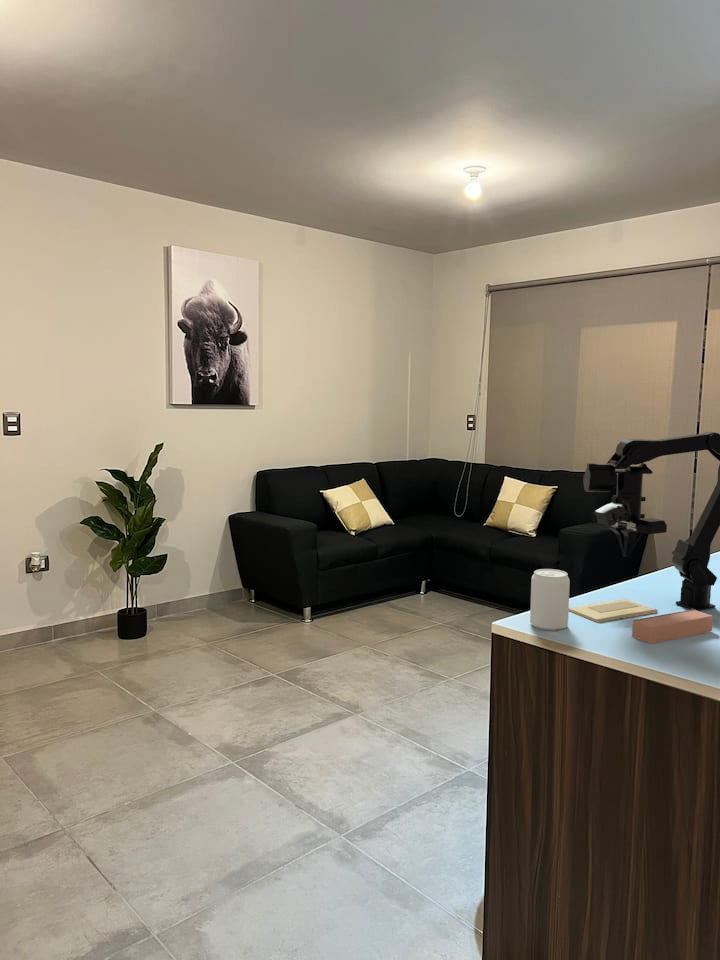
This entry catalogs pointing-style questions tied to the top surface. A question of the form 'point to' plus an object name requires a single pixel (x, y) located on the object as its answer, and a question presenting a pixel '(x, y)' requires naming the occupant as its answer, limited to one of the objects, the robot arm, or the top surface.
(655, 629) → the pink long block
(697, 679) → the top surface
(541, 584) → the beverage can
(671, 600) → the top surface
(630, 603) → the tan rectangular slab
